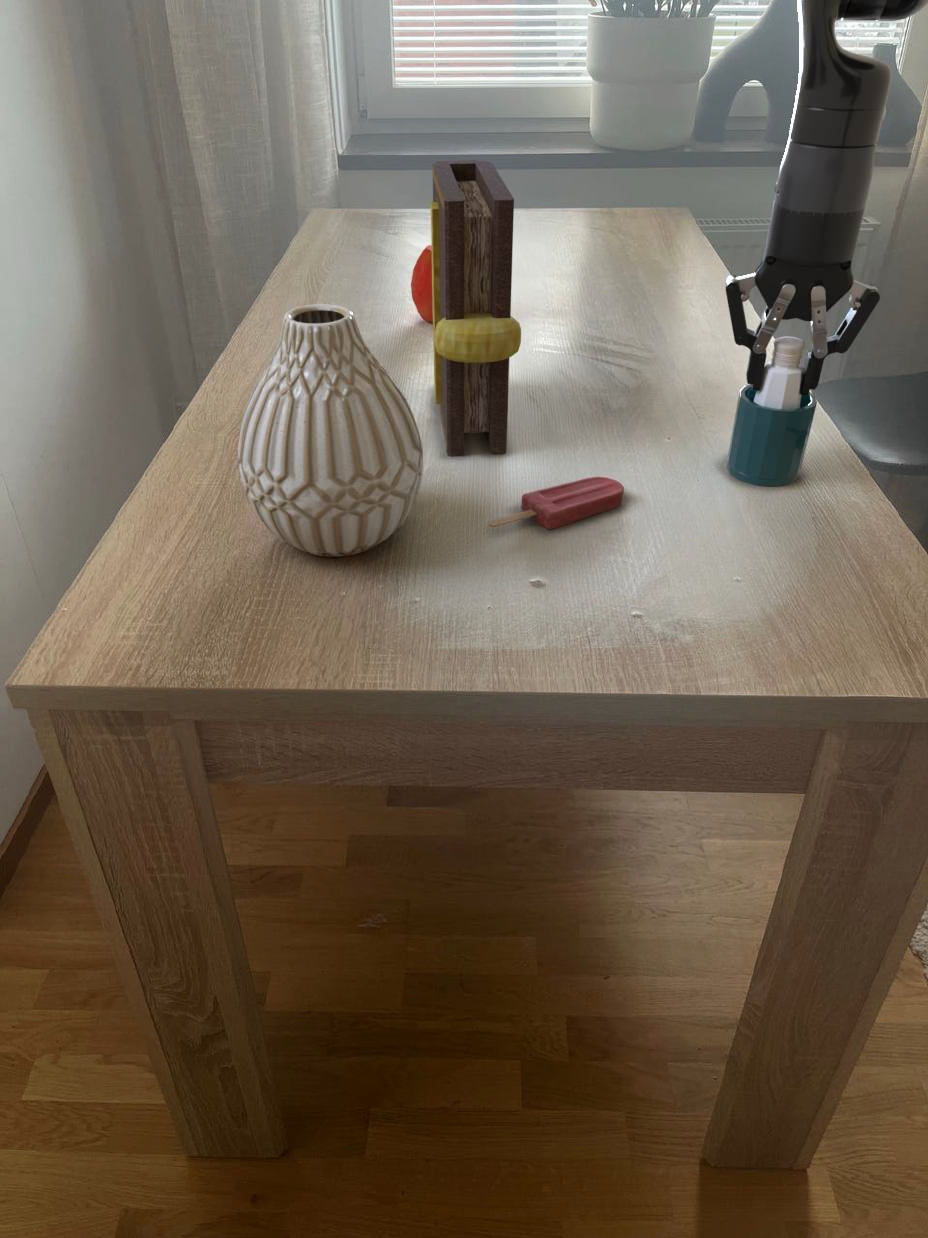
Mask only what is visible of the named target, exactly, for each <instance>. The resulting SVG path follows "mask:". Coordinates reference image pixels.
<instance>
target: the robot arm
mask: <svg viewBox="0 0 928 1238" xmlns="http://www.w3.org/2000/svg"><path fill="white" fill-rule="evenodd" d="M927 5H928V0H797V12H798V22H799V70H798V71H799V73H798V84H797V90H796V95H795V102H794V108H793V114H792V118H791V124H790V128H789V129H790V130H789V135H788V140H787V144H786V148H785V150H784V151H785V152H784V155H783V158H782V161H781V164H780V167H779V172H778V176H777V181H776V183H775V187H774V199H773V205H772V210H771V214H770V215H771V216H770V220H769V226H768V232H767V237H766V243H765V248H764V253H763V257H762V260H761V262H760V263H759V265H758V266H757V267H756V269H755V271H754V273H753V272H752V273H749V274H746V275H742V276H737V275H735V274H730V275H729V276H727V277H726V279H725V295H726V300H727V306H728V311H729V317H730V322H731V329H732V333H733V340H734V343H735V344H736V345H738V346H743V347H745V348H747V349H749V357H748V363H747V367H746V373H745V375H746V382H747V385H750V384H752V390H753V391H760V387H761V381H762V376H763V371H764V367H765V365H766V360H767V357H768V355H767V348H768V346H769V343H770V341H771V340H772V337H773V335H774V334H775V333H776V331H777V329H778V328H779V325H780V323H781V321H783V320H784V321H789V320H794V319H798V320H801V321H803V322H809V325H810V338H811V345H810V350H807V351H806V357H805V361H804V365H803V368H804V374H803V380H802V386H801V392H800V394H801V395H809V392H811V390H813V391H815V390H816V389H817V387H818V386H819V382H820V379H821V374H822V370H823V366H824V362H825V360H826V358H827V357H828V356H829V355H833V354H836V353H838V354H845V353H846V352H848V351H849V349H850V348H851V346H852V344H853V343H854V341H855V340H856V338H857V337H858V335H859V334H860V332H861V330H862V329H863V327H864V325H865V324H866V322H867V320H868V319H869V317H870V316H871V314H872V313H873V311H874V310H875V308H876V306H877V305H878V303H879V302H880V300H881V295H880V292H879V290H878V287H877V286H876V285H875V284H873V283H868V284H865V283H863V282H861V281H858V280H856V279H854V273H853V271H852V265H853V264H852V263H853V259H854V255H855V250H856V247H857V242H858V238H859V234H860V230H861V226H862V221H863V217H864V214H865V213H864V212H865V209H866V205H867V200H868V197H869V193H870V188H871V184H872V179H873V174H874V167H875V158H876V151H877V145H878V144H877V143H878V140H879V137H880V133H881V128H882V124H883V120H884V114H885V111H886V106H887V102H888V98H889V94H890V89H891V85H892V70H891V67H890V66H889V64H887V63H886V62H885V61H882V60H880V59H878V58H874V57H871V56H867V55H863V54H858V53H856V52H852V51H849V50H847V49H845V48H844V47H842V46H841V45H840V43H839V42H838V38H837V36H836V22H837V21H854V22H855V21H858V22H859V21H860V22H861V21H864V22H865V21H866V22H867V21H868V22H871V21H872V22H875V21H876V22H895V21H902V20H905V19H908V18H909V17H912V16H914V15H915V14H917V13H919V12H920V11H922V10H923V9H924V8H925V7H926V6H927ZM754 287H757V290H758V292H759V293H760V296H761V297H762V299H763V301H764V303H765V305H766V306H765V308H764V311H763V312H762V315H761V318H760V320H759V322H758V325H757V327H756V329H755V330H753V329H750V328H749V327H748V326H747V325H748V323H747V319H746V314H745V307H744V302H747V301H748V300H749V299H750V298H751V297H750V296H751V291H752V289H753V288H754ZM847 293H849V294H850V296H849V299H848V303H849V306H850V309H849V310H848V312H847V314H846V315H845V317H844V318H843V320H842V322H841V324H840V325H839V326H838V328H837V330H836V331H835V333H834V334H832V335H829V336H828V325H827V324H828V323H827V312H829V311H830V310H831V309H832V308H833V307H834V306H835V305H836V304H837V303H838V302H839V301H841V299H842V298H843V297H844V296H845V295H847Z"/></svg>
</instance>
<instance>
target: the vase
mask: <svg viewBox="0 0 928 1238" xmlns="http://www.w3.org/2000/svg"><path fill="white" fill-rule="evenodd" d="M282 318H283V319H282V323H281V326H280V327H281V328H280V332H279V333H280V334H279V339H278V342H277V345H276V349H275V351H274V352H273V355H272V357H271V359H270V360H269V362H268V363H267V364H266V366H265V368H264V370H263V371H262V373H261V374H260V376H259V378H258V380H257V381H256V384H255V386H254V388H253V389H252V392H251V394H250V396H249V398H248V400H247V403H246V405H245V409H244V412H243V415H242V419H241V424H240V428H239V435H238V442H237V454H236V456H237V458H236V459H237V470H238V474H239V479H240V482H241V486H242V490H243V492H244V495H245V497H246V500H247V502H248V504H249V506H250V507H251V509H252V511H253V513H254V514H255V516H256V517H257V518H258V520H259V521H260V523H262V525H263V526H264V527H265V528H266V529H267V530H268V531H269V532H270V533H271V534H272V535H273V536H275V537H276V538H278V539H279V540H280V541H281V542H283V543H285V544H286V545H288V546H290V547H293V548H295V549H297V550H299V551H302V552H304V553H307V554H311V555H314V556H319V557H329V558H331V557H333V558H336V557H337V558H338V557H347V556H353V555H357V554H360V553H364V552H366V551H368V550H370V549H372V548H374V547H376V546H377V545H379V544H380V543H382V542H384V541H385V540H386V539H388V538H390V537H391V536H392V535H393V534H394V533H395V532H396V531H397V530H398V529H400V527H401V526H402V525H403V524H404V523H405V521H406V519H407V518H408V516H409V514H410V513H411V511H412V509H413V507H414V505H415V503H416V501H417V499H418V495H419V492H420V489H421V486H422V485H421V484H422V479H423V472H424V449H423V442H422V438H421V434H420V431H419V430H420V429H419V427H418V424H417V421H416V419H415V416H414V414H413V411H412V408H411V406H410V404H409V402H408V399H407V398H406V396H405V395H404V393H403V391H402V390H401V388H400V386H399V385H398V384H397V382H396V381H395V379H394V378H393V376H392V375H391V374H390V372H389V371H388V370H387V369H386V368H385V366H384V365H383V364H382V363H381V362H380V360H379V359H378V358H377V357H376V356H375V355H374V354H373V353H372V351H371V349H370V348H369V347H368V346H367V344H366V342H365V340H364V338H363V335H362V334H361V330H360V328H359V326H358V323H357V320H356V318H355V316H354V314H353V312H352V311H351V309H349V308H347V307H345V306H342V305H338V304H330V303H314V304H313V303H312V304H306V305H299V306H297V307H294V308H292V309H290V310H288V311H287V312H286V313H284V315H283V317H282Z"/></svg>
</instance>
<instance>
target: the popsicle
mask: <svg viewBox="0 0 928 1238" xmlns="http://www.w3.org/2000/svg"><path fill="white" fill-rule="evenodd" d="M624 492H625V487H624V486H623V484H622V482H620V481H618V480H616V479H613V478H611V477H606V476H593V477H587V478H583V479H579V480H574V481H569V482H566V483H562V484H558V485H554V486H551V487H546V488H542V489H538V490H534V491H529V492H525V493H523V494H522V495H521V512H520V511H519V512H517V513H513V514H510V515H507V516H504V517H500V518H497V519H496V518H495V519H493V520H490V521H489V522H488V524H487V525H488V527H490V528H498V527H501V526H504V525H508V524H512V523H515V522H518V521H522V520H525V519H528V518H531V519H533V520H534V521H536V522H537V523H538V524H540V526H542V527H543V528H545V529H546V530H553V529H556V528H559V527H562V526H565V525H567V524H570V523H573V522H576V521H579V520H582V519H585V518H587V517H588V518H589V517H591V516H593V515H597V514H599V513H603V512H606V511H607V510H608V511H609V510H611V509H615V508H616V507H618V506H619V505H621V504H622V502H623V499H624Z"/></svg>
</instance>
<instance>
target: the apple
mask: <svg viewBox="0 0 928 1238" xmlns="http://www.w3.org/2000/svg"><path fill="white" fill-rule="evenodd" d="M410 290H411V298H412V302H413V304H414V306H415V309H416V311H417V313H418V315H419V316H420V317H421V319H422V320H423V321H426V322H428V323H431V324H433V296H432V246H431V244H428V245H426V247H425V248H424V249H423V250H422V251H421V253H420V255H419V256H418V258H417V260H416V262H415V265H414V266H413V269H412V275H411V281H410Z"/></svg>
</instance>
